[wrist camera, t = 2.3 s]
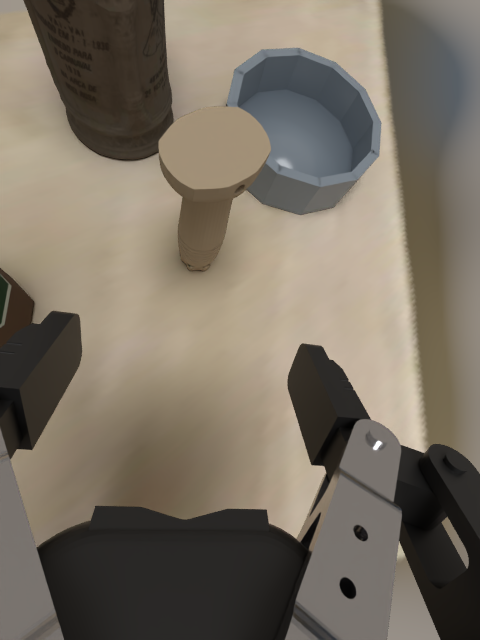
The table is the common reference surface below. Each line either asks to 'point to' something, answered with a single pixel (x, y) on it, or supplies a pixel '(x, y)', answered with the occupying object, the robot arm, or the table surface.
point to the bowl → (306, 127)
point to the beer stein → (108, 70)
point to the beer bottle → (13, 308)
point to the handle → (210, 174)
